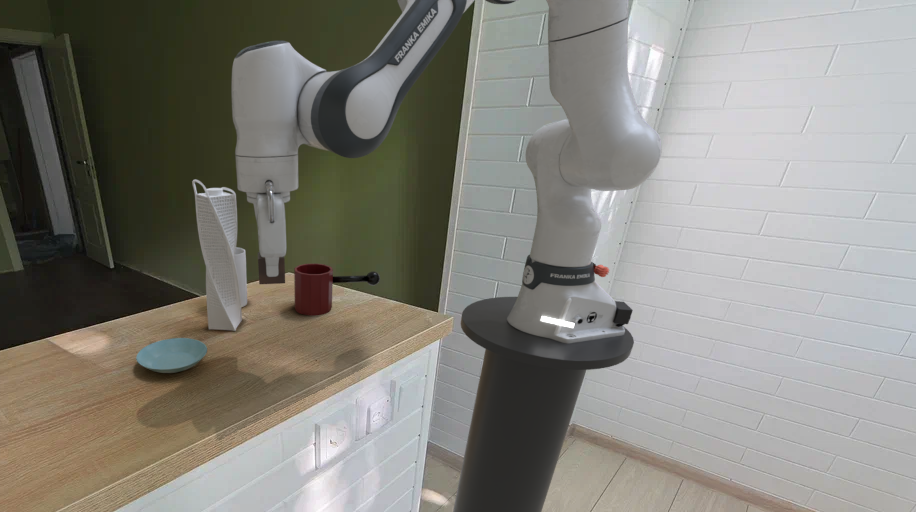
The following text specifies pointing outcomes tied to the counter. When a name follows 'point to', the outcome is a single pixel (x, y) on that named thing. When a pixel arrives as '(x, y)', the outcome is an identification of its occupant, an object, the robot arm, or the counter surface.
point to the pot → (321, 287)
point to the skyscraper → (219, 255)
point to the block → (263, 275)
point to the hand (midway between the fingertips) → (271, 269)
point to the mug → (241, 274)
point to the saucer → (171, 355)
